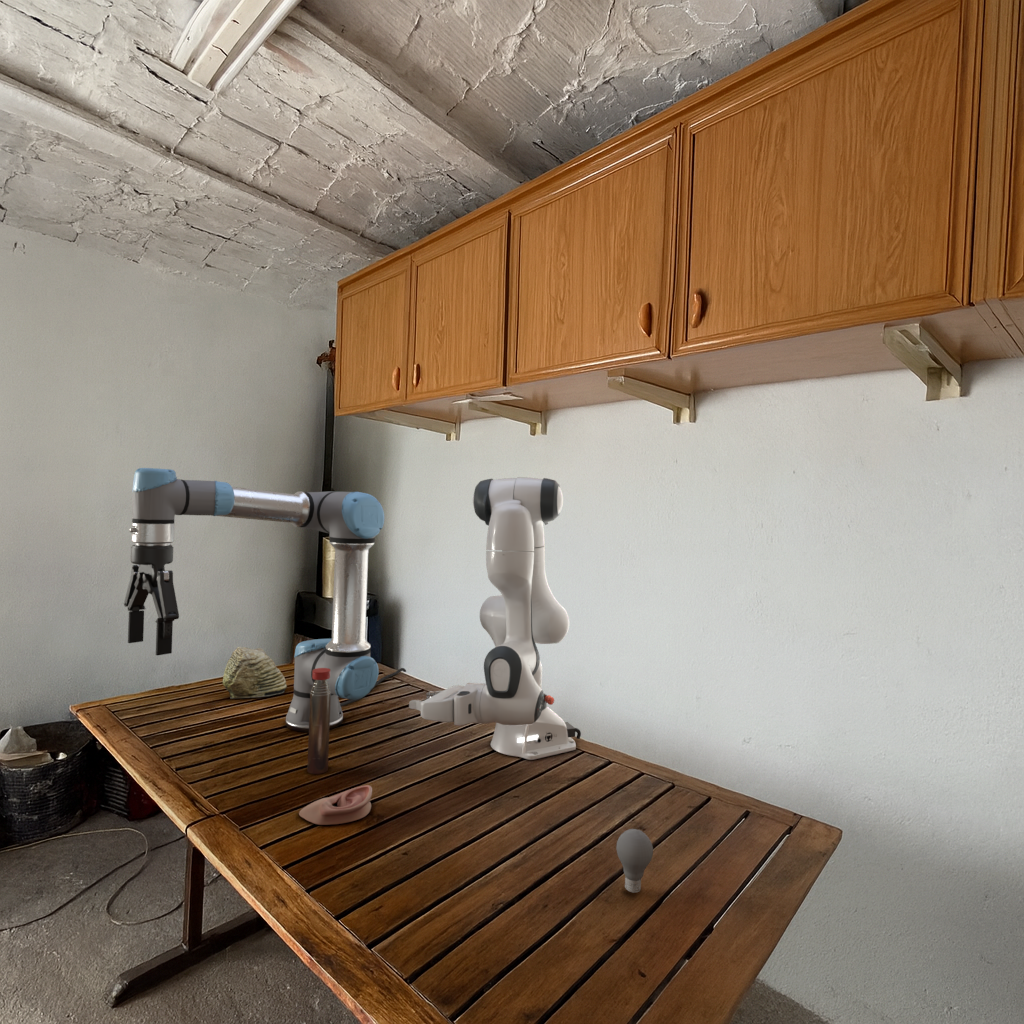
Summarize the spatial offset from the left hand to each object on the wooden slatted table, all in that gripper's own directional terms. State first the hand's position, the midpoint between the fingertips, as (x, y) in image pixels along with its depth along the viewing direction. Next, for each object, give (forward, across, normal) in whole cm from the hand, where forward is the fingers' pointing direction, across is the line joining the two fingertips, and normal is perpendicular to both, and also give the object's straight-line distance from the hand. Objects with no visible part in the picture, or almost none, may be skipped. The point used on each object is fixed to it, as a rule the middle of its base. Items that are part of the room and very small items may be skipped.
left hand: (149, 648), depth 129 cm
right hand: (+15, +28, +49) cm, 59 cm away
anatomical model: (+31, +33, +23) cm, 51 cm away
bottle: (+31, +13, +32) cm, 47 cm away
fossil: (+31, -47, +50) cm, 75 cm away
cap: (+8, +13, +32) cm, 36 cm away
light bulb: (+31, +90, +41) cm, 103 cm away
